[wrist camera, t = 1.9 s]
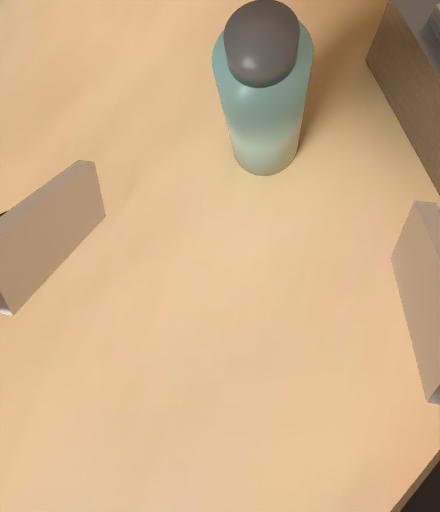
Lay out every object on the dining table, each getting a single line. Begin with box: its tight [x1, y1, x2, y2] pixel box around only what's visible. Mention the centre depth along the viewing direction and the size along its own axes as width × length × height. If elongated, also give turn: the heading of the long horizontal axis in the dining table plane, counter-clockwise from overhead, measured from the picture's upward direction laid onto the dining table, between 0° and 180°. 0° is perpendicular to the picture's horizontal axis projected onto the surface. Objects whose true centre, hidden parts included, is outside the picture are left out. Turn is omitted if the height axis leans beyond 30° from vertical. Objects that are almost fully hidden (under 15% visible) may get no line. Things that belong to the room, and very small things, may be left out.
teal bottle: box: [212, 0, 314, 176], centre depth 22 cm, size 5×5×12 cm
